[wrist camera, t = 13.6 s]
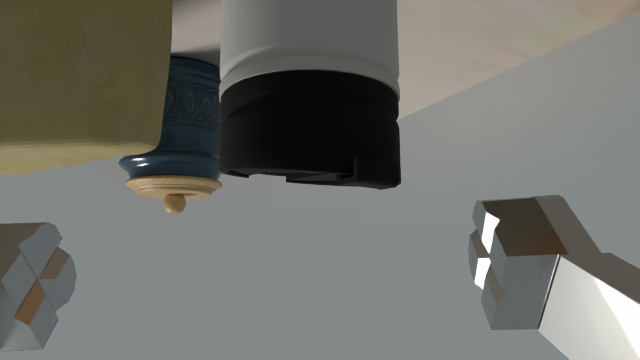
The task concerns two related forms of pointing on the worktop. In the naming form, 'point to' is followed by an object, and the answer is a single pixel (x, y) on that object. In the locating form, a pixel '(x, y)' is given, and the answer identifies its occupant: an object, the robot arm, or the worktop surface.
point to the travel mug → (310, 91)
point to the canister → (183, 139)
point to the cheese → (81, 80)
